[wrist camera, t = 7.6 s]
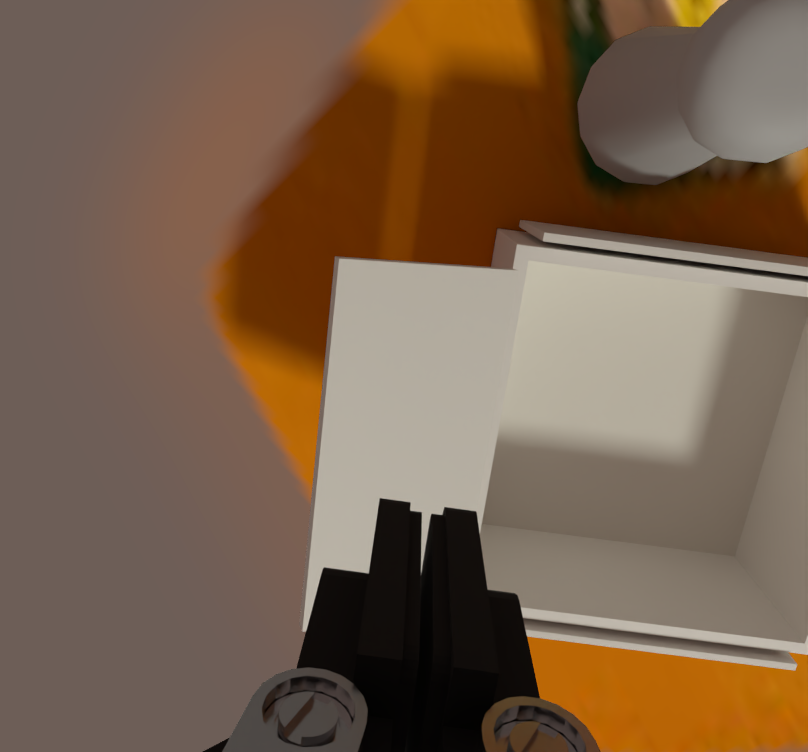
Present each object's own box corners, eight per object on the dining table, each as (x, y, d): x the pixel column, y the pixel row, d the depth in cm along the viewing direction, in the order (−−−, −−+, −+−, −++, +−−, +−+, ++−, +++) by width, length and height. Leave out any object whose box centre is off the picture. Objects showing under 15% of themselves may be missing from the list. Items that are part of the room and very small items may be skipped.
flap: (518, 270, 24) (512, 268, 24) (338, 258, 21) (335, 256, 21) (460, 604, 27) (455, 598, 28) (302, 631, 25) (299, 624, 25)
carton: (499, 215, 31) (521, 229, 24) (844, 261, 31) (968, 288, 24) (447, 535, 35) (452, 626, 28) (747, 573, 35) (827, 674, 28)
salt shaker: (588, 202, 30) (699, 226, 18) (548, 71, 29) (639, -2, 17) (719, 152, 30) (931, 140, 17) (685, 15, 28) (890, -107, 16)
